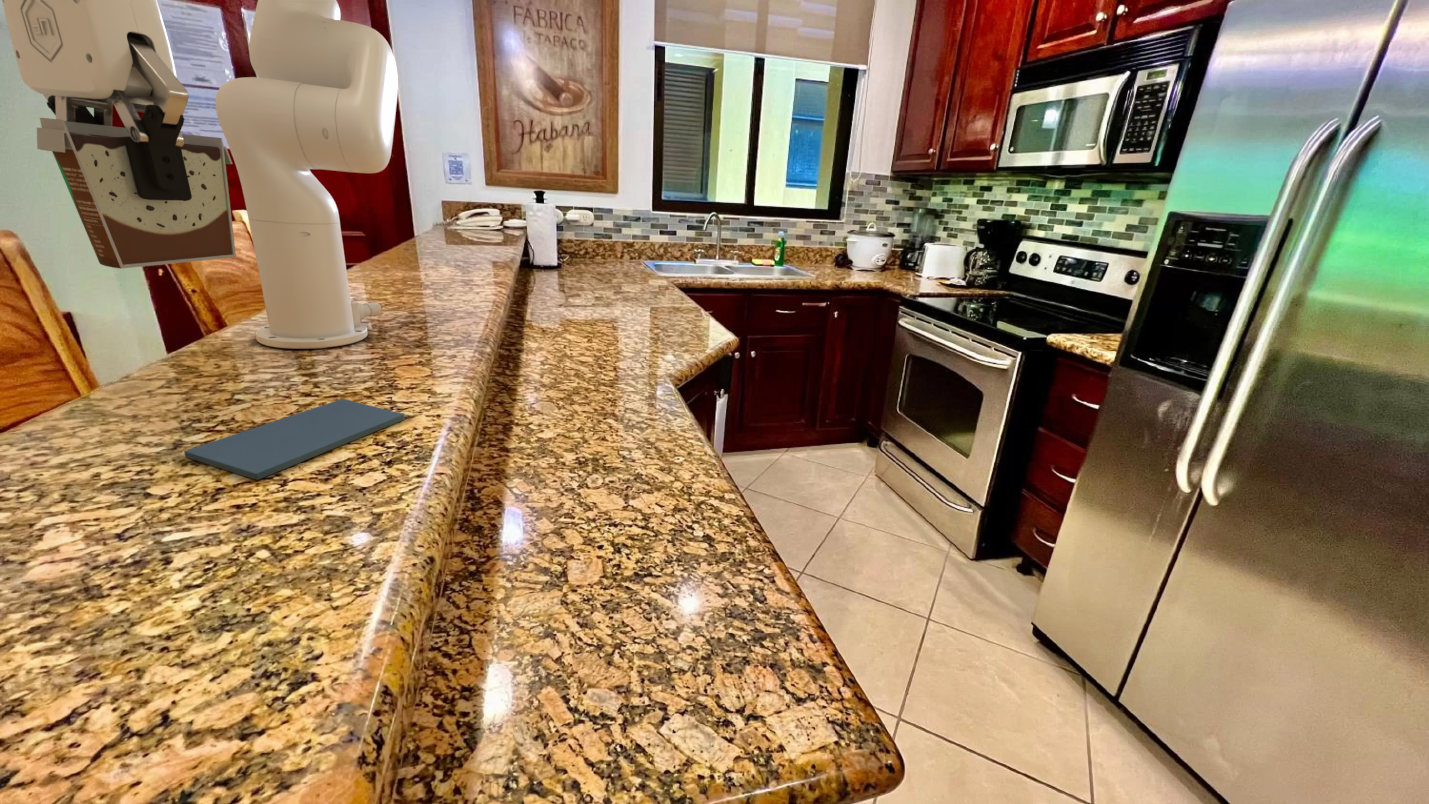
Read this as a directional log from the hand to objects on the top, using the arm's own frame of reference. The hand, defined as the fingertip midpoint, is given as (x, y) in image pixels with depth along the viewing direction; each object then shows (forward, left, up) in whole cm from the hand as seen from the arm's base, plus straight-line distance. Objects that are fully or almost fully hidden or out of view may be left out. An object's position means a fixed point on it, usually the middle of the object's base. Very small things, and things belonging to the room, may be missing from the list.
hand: (135, 193), depth 44 cm
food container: (0, 0, -5) cm, 5 cm away
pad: (-2, +12, -20) cm, 23 cm away
